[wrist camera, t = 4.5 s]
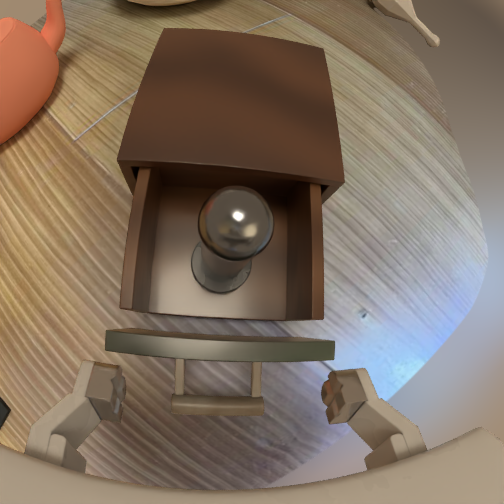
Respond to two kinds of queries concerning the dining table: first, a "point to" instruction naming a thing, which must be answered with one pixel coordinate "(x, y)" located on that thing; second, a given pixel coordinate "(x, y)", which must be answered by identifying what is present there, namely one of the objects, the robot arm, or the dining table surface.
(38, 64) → the teapot
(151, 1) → the bowl
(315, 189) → the drawer
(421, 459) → the robot arm
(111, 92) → the dining table surface
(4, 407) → the mat
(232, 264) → the domed metal post
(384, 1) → the chicken leg
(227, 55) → the cabinet
